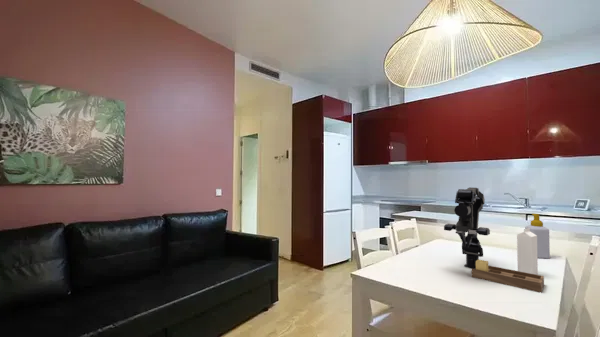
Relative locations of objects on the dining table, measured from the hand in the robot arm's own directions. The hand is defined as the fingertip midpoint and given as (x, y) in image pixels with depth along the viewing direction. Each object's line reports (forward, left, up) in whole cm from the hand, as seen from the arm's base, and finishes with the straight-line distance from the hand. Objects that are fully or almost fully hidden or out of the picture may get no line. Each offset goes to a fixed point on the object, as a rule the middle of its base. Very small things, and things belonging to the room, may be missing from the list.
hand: (466, 246), depth 138 cm
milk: (-22, +21, -13) cm, 33 cm away
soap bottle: (-65, +21, -13) cm, 69 cm away
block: (0, +6, -11) cm, 12 cm away
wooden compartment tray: (-3, +16, -13) cm, 20 cm away
